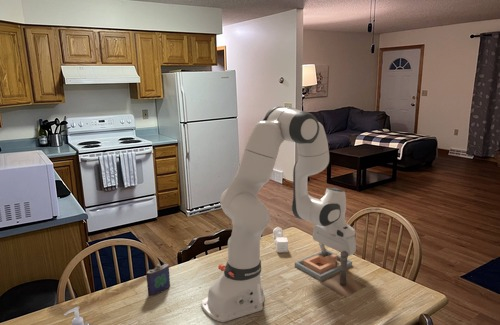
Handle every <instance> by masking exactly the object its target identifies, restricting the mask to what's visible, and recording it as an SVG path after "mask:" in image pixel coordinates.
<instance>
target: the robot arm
mask: <svg viewBox="0 0 500 325" xmlns="http://www.w3.org/2000/svg"><path fill="white" fill-rule="evenodd" d="M285 141H288V142H291V143H296V146H297V154H298V156H297V159H298V160H297V161H296V162H295V163H294V165H293V170H292V171H293V172H292V173H293V174H292V176H293V177H292V178H293V179H292V183H293V184H292V187H293V188H292V190H293V193H292V195H293V197H292V202H291V203H292V204H291V212H292V214H293V216H294V217H295V218H296V219H299V220H303V221H307V222H309V223H311V224H312V223H313V229H312V230H313V231H312V239H313V241H315V242H318V243H319V244H318V245H319V248H320V252H321V253H323V254H325V253H326V251H327V250H328V249H327V248H326V247H328V248H331V249H333V250H335V251H337V252H339V253H341V252H342V251H346V252H348V257H350V256H352V255H354V254H355V253H356V250H357V248H356V247H357V241H356V236H355V235H356V233H357V232H356V229H354V228H353V227H352V226H351V225H349V224H348V223H347V222H346V217H345V216H346V211H347V197H346V196H347V195H346V192H345V190H344V189H341V188H338V187H326V189H325V192H324V195H323V196H322V197H321V198H320V199H319V198H316V197H313V196H312V195H310V194H309V192H308V184H309V183H308V178H309V177H311V176H314V175H317V174H320V173H321V172H323V171H324V170H325V169H326V168H328V166H329V164H330V151H329V150H330V149H329V143H328V138H327V133H326V131H325V128H324V125H323V124H322V123H321V122H319V120H318V119H317V118H316V116H315V115H313V114H312V113H310V112H308V111H305V110H300V109H297V108H294V107H284V106H275V107H272V108H271V109H269V110H268V111H267V113H266V114H265V116H264V118H263V119H262V120H260V121H258V122H256V123H255V124H254V126H253V128H252V130H251V132H250V134H249V136H248V138H247V141H246V144H245V146H244V150H243V152H242V157H241V160H240V163H239V166H238V169H237V171H236V174H235V175H234V177H233V179H232V181H231V183H230V184H229V185H228V187H227V188H226V189H225V190H224V191H223V192H222V193H221V195H220V198H219V203H220V206H221V210H222V211H223V213H224V214H225V215H226V216H227V217H228V218H229V219H230V220H231V223H232V231H231V236H230V237H229V238H228V240H227V261H226V264H225V265H224V264H223V263H219V264H218V267H217V268H218V270H220V271H221V272H223V273H221V275H220V276H219V277H218V278H217V279H216V280H215V281H214V282H213V284H212V285H211V286H210V287H209V289H208V293H207V297H205V298H203V299H202V300H201V309H202V310H203V312H204V313H205V314H206V315H207V316H209V317H210V318H211V319H213V320H215V321H217V322H220V323H225V322H229V321H233V320H236V319H238V318H241V317H245V316H248V315H251V314H255V313H258V312H261V311H263V309H264V308H263V303H264V301H265V294H264V290H263V286H262V278H261V272H262V261H261V258H260V257H261V240H262V234H263V232H264V230H266V229H267V227H268V226H269V224H270V221H271V215H270V210H268V208H267V207H266V205H265V203H264V202H263V201H262V200H260V199H259V198H258V194H259V193H260V191H261V190H262V188H263V187H264V185H265V184H267V183H269V181H270V179H271V177H272V174H273V170H274V167H275V165H276V161H277V158H278V154H279V150H280V148H281V145H282V143H283V142H285ZM338 261H339V262H340V263H341V257H339V260H338Z"/></svg>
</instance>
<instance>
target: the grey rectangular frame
mask: <svg viewBox="0 0 500 325" xmlns="http://www.w3.org/2000/svg"><path fill="white" fill-rule="evenodd" d="M318 254H319V255H321V256H323V257H324V256H326V255H327V256H330V255H332V254H334V255H336V256H337V261H339V257H341V255H338V254H337V253H335V252H332V251H331V250H328V249H327V251H326V253H325V254H323V253H321V251H319V252H317V253H314V254H312V255H309V256H307V257H304V258H302V259H299V260H298V261H295V262H294V268H298V269H299V270H300V271H302V272H304V273H306V274H308V275H310V276H312V277H313V278H314V279H317V280H318V281H324V280H326V279H328V277H329V278H330V277H332V276H334V274H335V275H336V273H337V274H338V273H340V271H341V264H340V265H338V266H335V268H334V269H331V270H329V271H327V272H325V273H323V274H321V275H320V274H318V273H316V272H314V271H313V270H311V269H309V268H307V267H305V266H304V260H306V259H309V258H311V257H314V256H316V255H318ZM351 266H353V261H352V260H350V259H348V258H347V268H350V267H351Z"/></svg>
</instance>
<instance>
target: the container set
mask: <svg viewBox="0 0 500 325" xmlns="http://www.w3.org/2000/svg"><path fill="white" fill-rule="evenodd" d="M272 238H273V239H274V245H275V249H276V253H288V252H289V241H288V237H286V236H285V237H284V231H283V229H282V227H279V226H277V227H275V228H274V229H273V231H272Z"/></svg>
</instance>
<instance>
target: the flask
mask: <svg viewBox="0 0 500 325" xmlns="http://www.w3.org/2000/svg"><path fill="white" fill-rule="evenodd" d="M145 276H146V284H147V295H148V297H154V296H156V295H159V294H161V293H162V292H164V291H166V290H169V288H170V287H171V281H170V278H171V277H170V276H171V275H170V265H169V263H164V264H162V265H161V264H160V263H156V266H155V267H154V268H153V269H149V270H147V272H146V273H145Z"/></svg>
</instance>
